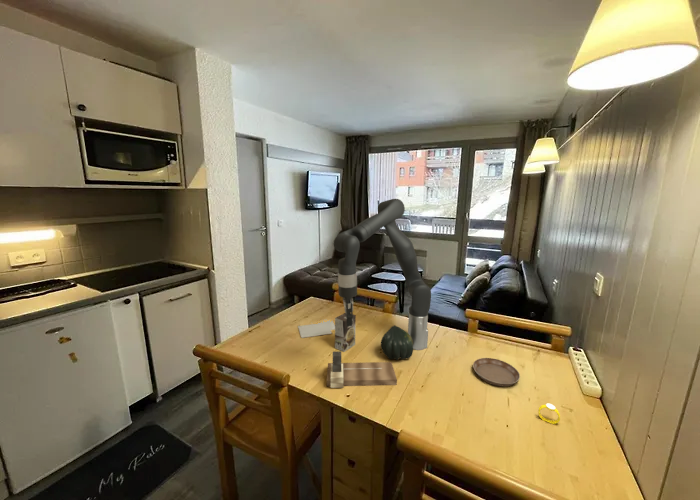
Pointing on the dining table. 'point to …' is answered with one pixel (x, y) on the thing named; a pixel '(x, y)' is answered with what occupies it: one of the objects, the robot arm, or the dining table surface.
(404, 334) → the squash
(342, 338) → the coffee box
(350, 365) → the walnut board
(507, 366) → the plant saucer
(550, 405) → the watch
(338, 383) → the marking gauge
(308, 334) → the paper stack
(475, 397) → the dining table surface
